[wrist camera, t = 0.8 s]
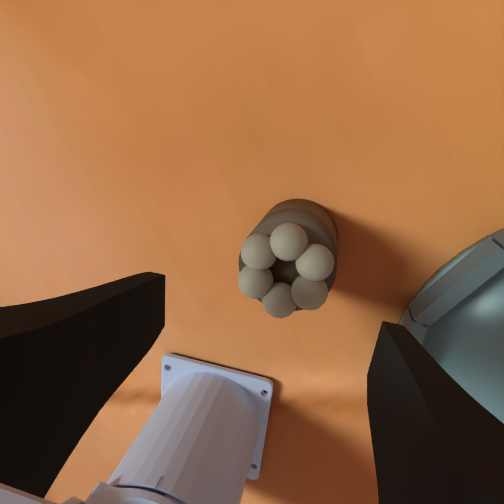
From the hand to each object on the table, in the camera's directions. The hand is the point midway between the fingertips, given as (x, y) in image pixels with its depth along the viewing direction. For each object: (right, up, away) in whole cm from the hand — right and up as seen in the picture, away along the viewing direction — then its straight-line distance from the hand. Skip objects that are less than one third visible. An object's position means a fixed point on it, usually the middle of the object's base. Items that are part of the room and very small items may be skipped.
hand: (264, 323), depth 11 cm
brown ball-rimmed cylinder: (+2, +3, +8) cm, 9 cm away
